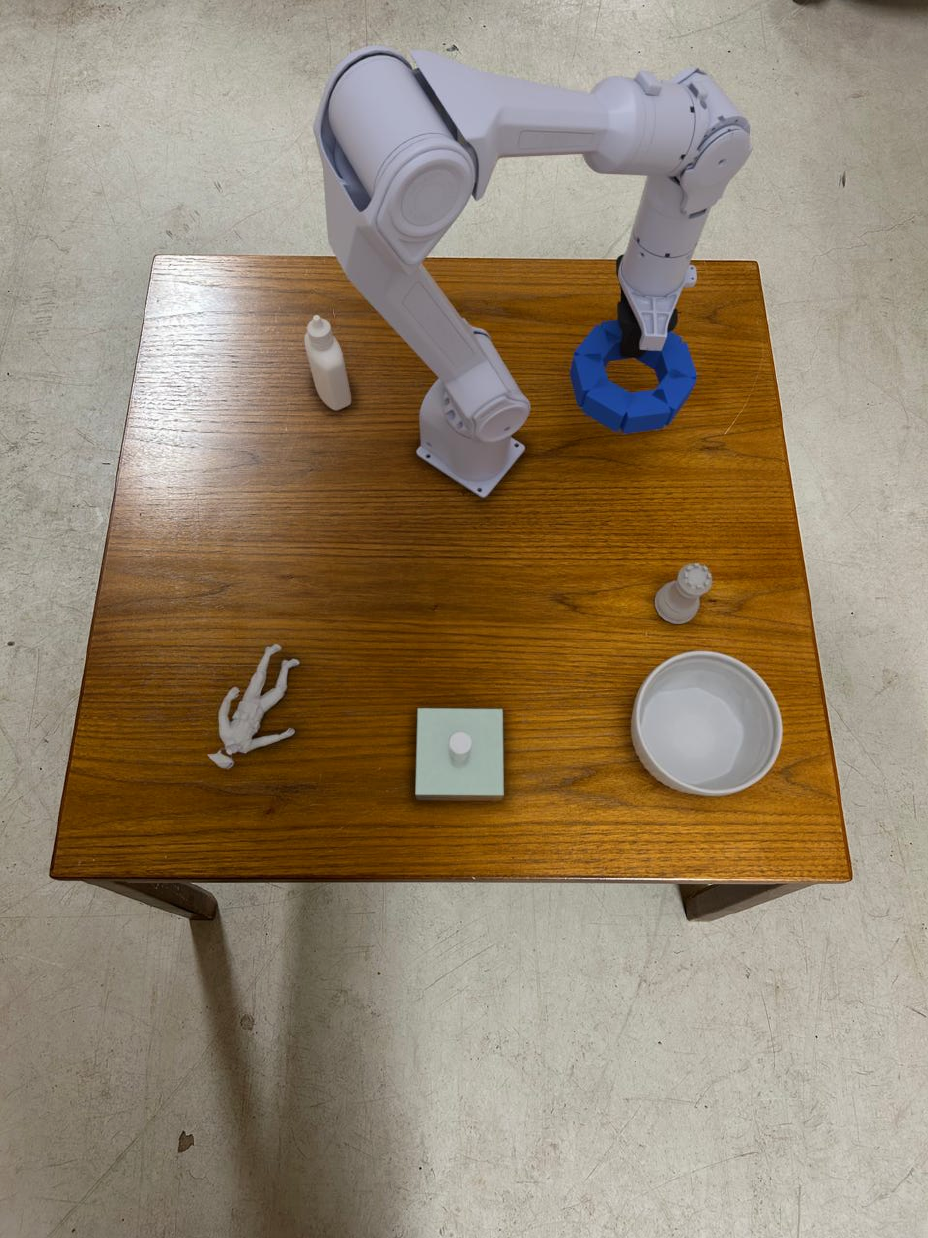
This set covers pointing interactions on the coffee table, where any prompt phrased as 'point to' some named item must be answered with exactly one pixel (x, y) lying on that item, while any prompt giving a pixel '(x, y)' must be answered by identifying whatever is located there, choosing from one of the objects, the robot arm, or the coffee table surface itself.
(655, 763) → the ramekin
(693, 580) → the rook chess piece
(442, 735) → the pale green peg block
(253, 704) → the soldier figure
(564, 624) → the coffee table surface
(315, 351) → the eye dropper bottle
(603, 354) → the blue ring
